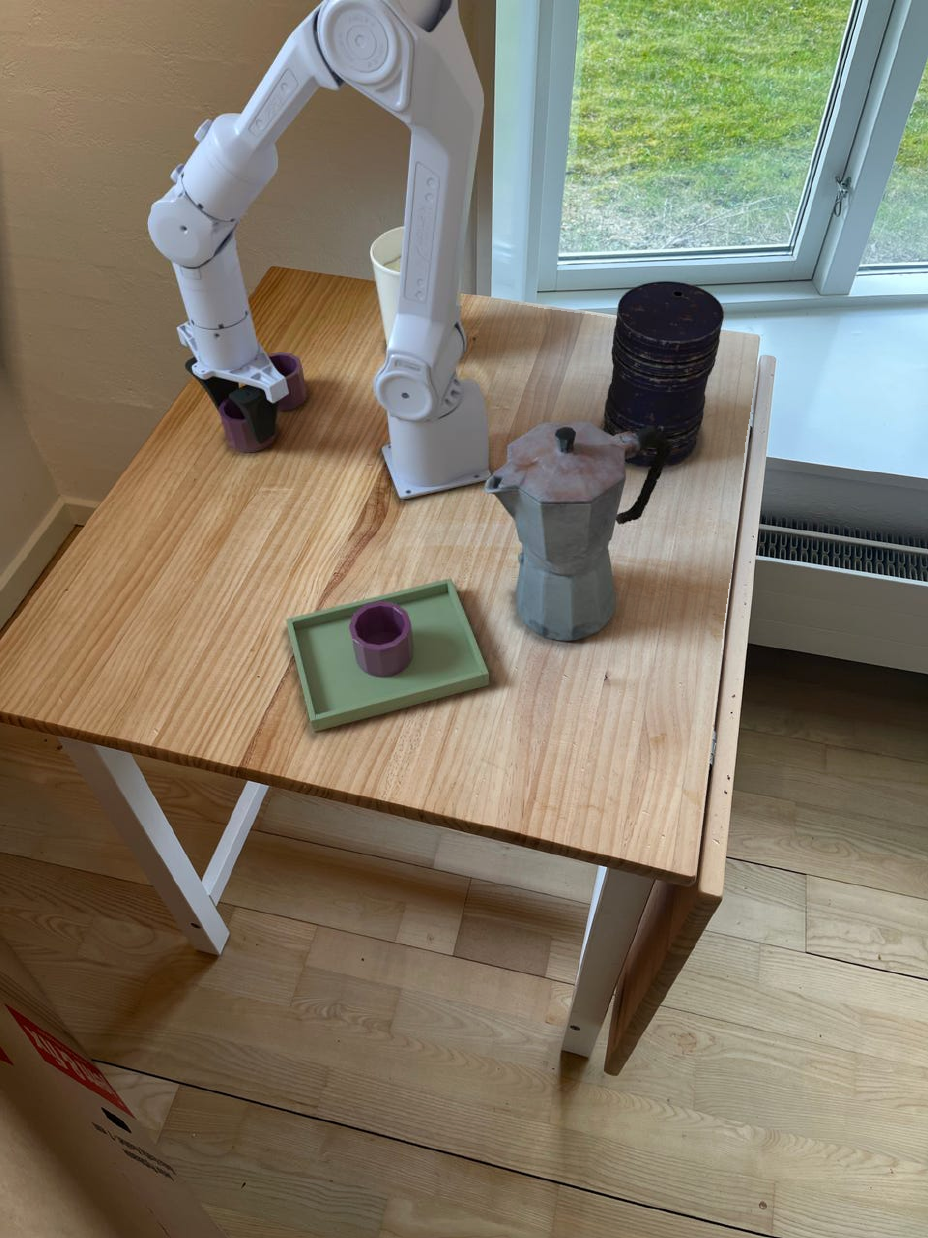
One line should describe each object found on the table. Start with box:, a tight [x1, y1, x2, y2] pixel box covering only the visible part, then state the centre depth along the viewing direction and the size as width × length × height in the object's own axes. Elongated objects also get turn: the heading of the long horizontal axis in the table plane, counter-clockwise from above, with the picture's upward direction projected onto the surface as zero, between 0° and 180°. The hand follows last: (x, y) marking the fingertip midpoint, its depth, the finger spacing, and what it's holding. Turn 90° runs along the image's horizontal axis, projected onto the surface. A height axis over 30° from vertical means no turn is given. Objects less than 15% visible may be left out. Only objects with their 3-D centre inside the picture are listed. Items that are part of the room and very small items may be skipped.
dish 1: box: [218, 397, 276, 453], centre depth 98 cm, size 5×5×4 cm
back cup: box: [267, 351, 308, 412], centre depth 102 cm, size 5×5×4 cm
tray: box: [285, 577, 490, 733], centre depth 81 cm, size 15×11×2 cm
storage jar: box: [602, 280, 725, 469], centre depth 93 cm, size 10×10×15 cm
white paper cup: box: [369, 225, 463, 347], centre depth 105 cm, size 10×10×12 cm
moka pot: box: [483, 421, 673, 642], centre depth 77 cm, size 10×15×20 cm, turn 113°
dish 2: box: [349, 601, 414, 677], centre depth 80 cm, size 5×5×4 cm
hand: (248, 425), depth 99 cm, fingers closed on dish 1, 5 cm apart
